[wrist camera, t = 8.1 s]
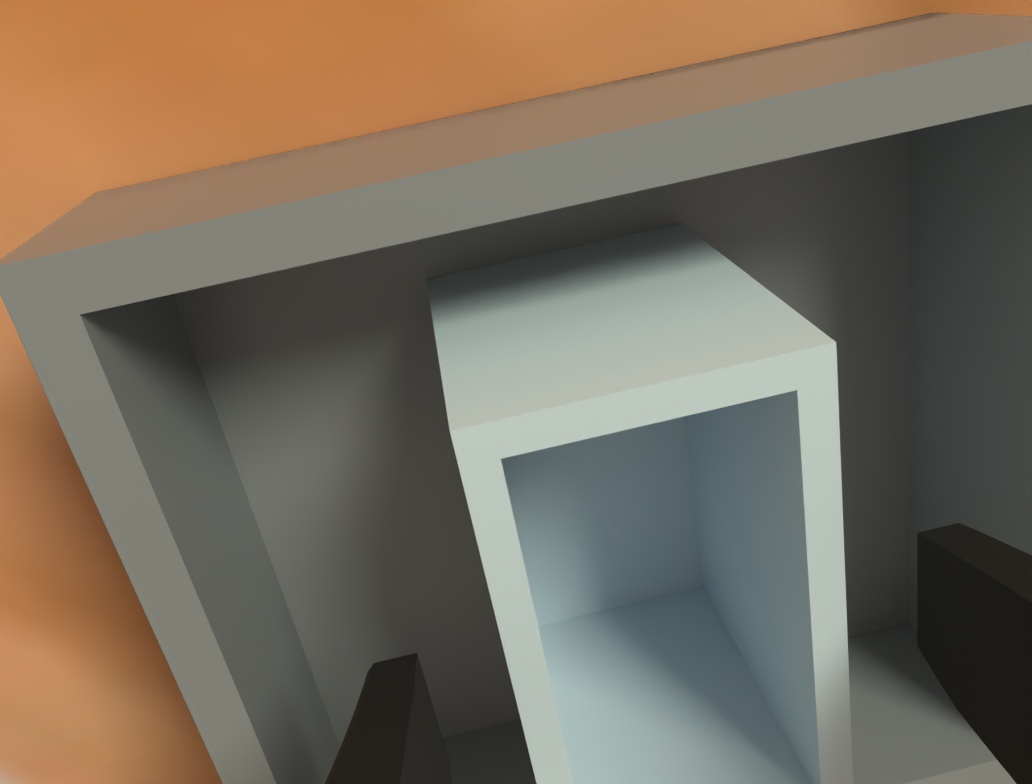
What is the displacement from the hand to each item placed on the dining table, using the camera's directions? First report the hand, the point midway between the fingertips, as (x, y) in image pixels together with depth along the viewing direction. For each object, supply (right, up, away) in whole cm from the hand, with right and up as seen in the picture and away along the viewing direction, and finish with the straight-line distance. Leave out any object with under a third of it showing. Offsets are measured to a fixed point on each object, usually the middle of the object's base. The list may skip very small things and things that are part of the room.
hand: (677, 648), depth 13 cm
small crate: (-1, +2, +5) cm, 6 cm away
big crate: (-1, +2, +6) cm, 6 cm away
